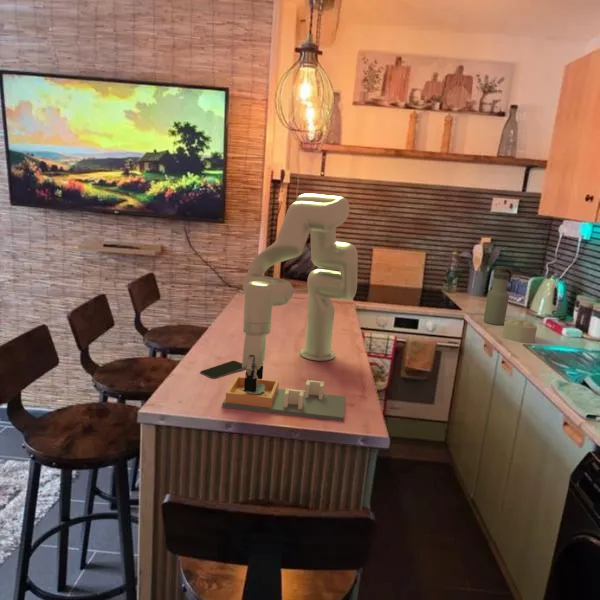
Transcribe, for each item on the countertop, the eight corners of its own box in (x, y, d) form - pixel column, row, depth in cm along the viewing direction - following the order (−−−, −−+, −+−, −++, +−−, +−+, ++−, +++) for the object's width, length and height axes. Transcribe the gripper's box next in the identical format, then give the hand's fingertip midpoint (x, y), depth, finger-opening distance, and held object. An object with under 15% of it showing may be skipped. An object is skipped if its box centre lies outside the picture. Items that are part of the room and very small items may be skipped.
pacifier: (271, 396, 148) (257, 388, 152) (273, 376, 146) (259, 368, 150) (250, 402, 143) (237, 394, 147) (252, 381, 141) (239, 374, 145)
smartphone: (198, 371, 165) (233, 360, 176) (198, 375, 165) (233, 363, 176) (213, 378, 160) (248, 366, 171) (213, 381, 160) (248, 369, 171)
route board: (234, 387, 155) (235, 371, 154) (344, 400, 152) (346, 383, 151) (222, 407, 142) (223, 389, 140) (343, 421, 139) (345, 403, 138)
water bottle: (495, 319, 262) (505, 265, 256) (509, 325, 254) (519, 268, 247) (479, 320, 259) (488, 264, 253) (491, 325, 250) (501, 268, 244)
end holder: (236, 384, 154) (236, 376, 154) (278, 389, 153) (278, 380, 152) (225, 402, 142) (226, 392, 141) (271, 407, 141) (271, 398, 140)
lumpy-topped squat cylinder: (508, 333, 239) (512, 315, 237) (537, 341, 230) (541, 322, 228) (499, 337, 231) (502, 318, 229) (529, 345, 223) (532, 325, 221)
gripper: (249, 317, 152) (246, 372, 156) (236, 333, 135) (233, 395, 139) (275, 319, 151) (271, 375, 155) (264, 337, 134) (261, 398, 138)
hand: (253, 384), depth 147 cm, fingers open, 9 cm apart
